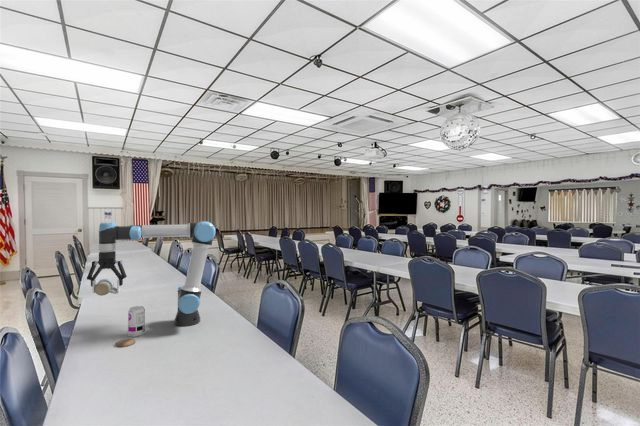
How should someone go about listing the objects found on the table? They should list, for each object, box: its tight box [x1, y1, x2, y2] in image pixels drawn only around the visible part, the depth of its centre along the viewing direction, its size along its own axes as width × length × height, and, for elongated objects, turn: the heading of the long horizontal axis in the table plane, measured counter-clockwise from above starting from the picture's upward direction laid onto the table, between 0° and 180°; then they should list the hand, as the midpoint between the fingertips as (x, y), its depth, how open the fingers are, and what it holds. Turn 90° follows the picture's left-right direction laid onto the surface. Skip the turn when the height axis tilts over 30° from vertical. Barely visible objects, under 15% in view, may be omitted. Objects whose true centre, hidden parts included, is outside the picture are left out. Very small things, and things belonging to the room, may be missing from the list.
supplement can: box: [127, 305, 146, 338], centre depth 178 cm, size 8×8×15 cm
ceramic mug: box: [94, 278, 119, 297], centre depth 170 cm, size 11×8×8 cm
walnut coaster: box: [115, 338, 137, 348], centre depth 165 cm, size 9×9×1 cm
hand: (106, 292), depth 170 cm, fingers closed on ceramic mug, 11 cm apart
